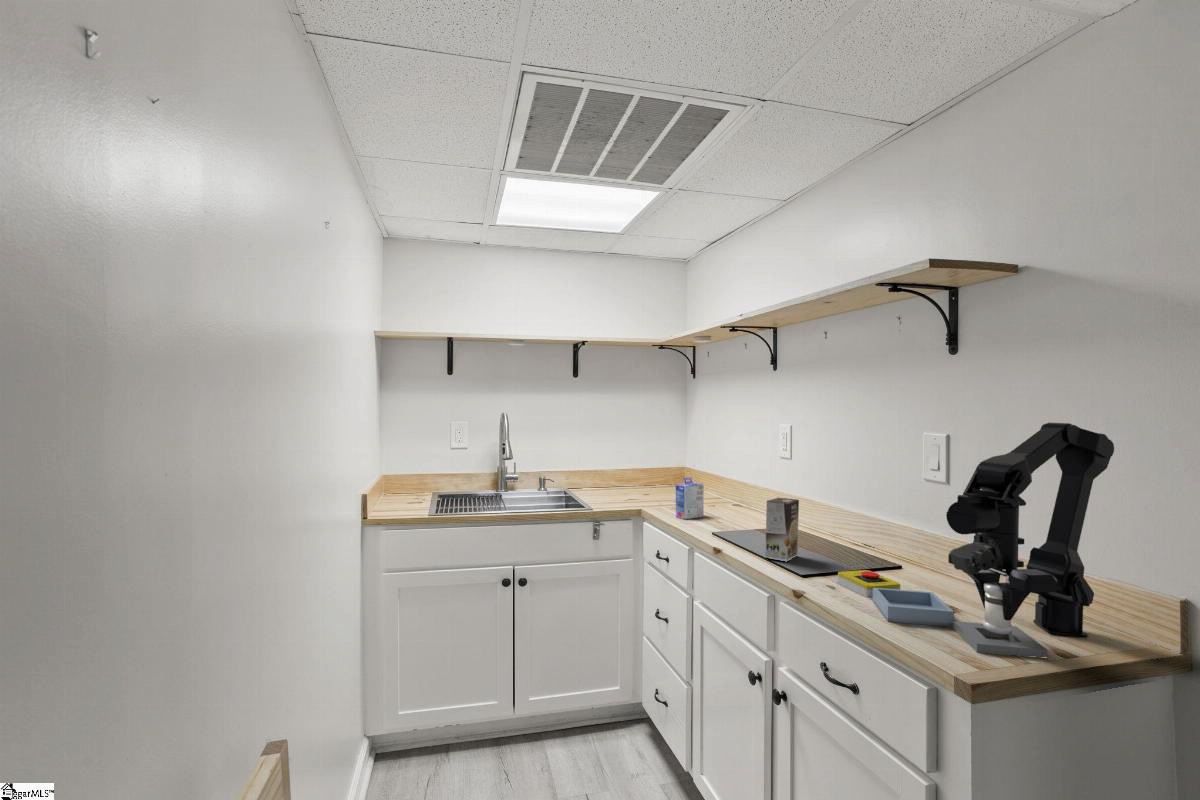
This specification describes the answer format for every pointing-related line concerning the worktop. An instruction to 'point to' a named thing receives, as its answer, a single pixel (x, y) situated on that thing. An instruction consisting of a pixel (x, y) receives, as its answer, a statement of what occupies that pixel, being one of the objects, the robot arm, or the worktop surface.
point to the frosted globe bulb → (995, 610)
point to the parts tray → (912, 607)
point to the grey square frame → (999, 641)
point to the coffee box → (782, 528)
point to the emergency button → (864, 582)
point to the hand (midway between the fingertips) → (997, 615)
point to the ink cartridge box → (689, 500)
